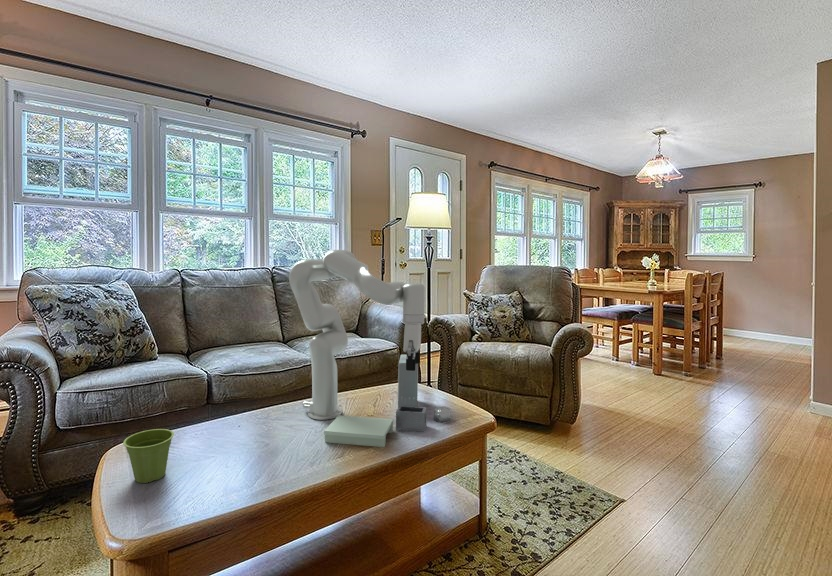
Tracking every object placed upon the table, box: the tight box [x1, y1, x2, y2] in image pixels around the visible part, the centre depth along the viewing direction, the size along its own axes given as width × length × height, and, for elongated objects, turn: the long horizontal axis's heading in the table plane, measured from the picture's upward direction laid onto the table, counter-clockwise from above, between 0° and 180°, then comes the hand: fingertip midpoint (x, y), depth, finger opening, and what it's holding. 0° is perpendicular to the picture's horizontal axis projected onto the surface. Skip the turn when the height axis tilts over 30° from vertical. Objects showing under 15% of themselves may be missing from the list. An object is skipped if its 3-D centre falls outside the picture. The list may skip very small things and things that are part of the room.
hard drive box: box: [397, 354, 419, 408], centre depth 175 cm, size 16×8×20 cm, turn 179°
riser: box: [323, 414, 394, 448], centre depth 147 cm, size 20×14×4 cm
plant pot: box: [122, 428, 175, 484], centre depth 119 cm, size 12×12×11 cm
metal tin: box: [433, 406, 451, 424], centre depth 162 cm, size 6×6×4 cm
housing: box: [395, 406, 428, 434], centre depth 154 cm, size 10×6×7 cm, turn 81°
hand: (412, 366), depth 152 cm, fingers open, 9 cm apart
